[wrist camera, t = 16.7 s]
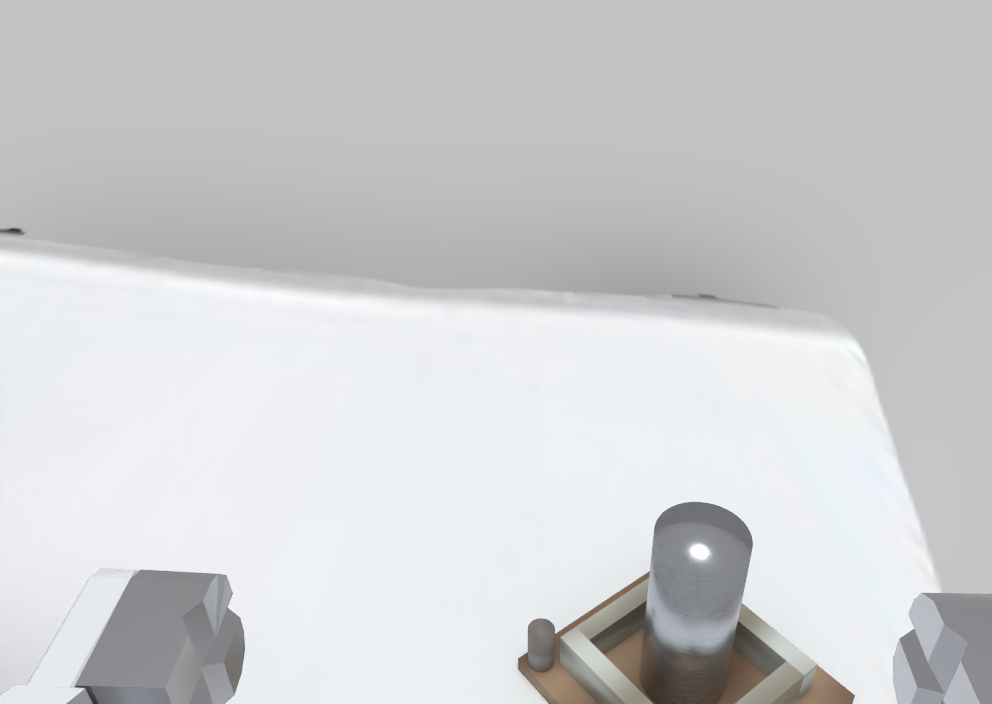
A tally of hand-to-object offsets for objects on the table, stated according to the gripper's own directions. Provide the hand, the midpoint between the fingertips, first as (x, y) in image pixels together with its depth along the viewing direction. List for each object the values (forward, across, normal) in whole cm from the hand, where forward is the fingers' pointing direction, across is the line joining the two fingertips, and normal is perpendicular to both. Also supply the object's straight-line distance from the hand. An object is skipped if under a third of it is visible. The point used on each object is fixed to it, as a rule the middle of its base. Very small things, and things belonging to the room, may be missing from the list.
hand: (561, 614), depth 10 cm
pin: (+25, -8, +37) cm, 45 cm away
